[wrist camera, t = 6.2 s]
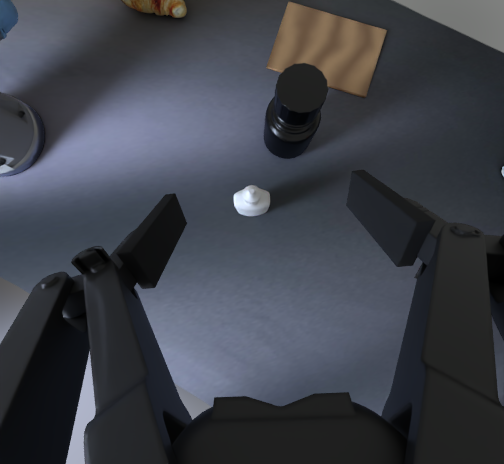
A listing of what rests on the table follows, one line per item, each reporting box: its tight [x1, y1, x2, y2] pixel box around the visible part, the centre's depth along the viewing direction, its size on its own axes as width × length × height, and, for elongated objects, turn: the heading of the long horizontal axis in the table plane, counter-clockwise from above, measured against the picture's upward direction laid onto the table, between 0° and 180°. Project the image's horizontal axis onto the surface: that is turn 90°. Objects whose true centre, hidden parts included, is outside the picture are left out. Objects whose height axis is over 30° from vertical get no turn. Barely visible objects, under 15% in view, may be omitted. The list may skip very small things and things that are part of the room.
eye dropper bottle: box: [234, 185, 270, 216], centre depth 30 cm, size 4×6×12 cm
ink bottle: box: [264, 63, 328, 159], centre depth 31 cm, size 10×9×12 cm
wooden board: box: [267, 2, 387, 98], centre depth 38 cm, size 20×14×1 cm
